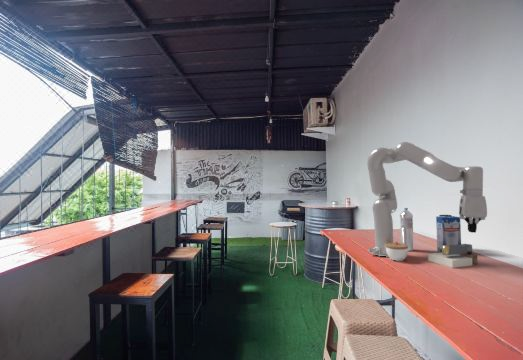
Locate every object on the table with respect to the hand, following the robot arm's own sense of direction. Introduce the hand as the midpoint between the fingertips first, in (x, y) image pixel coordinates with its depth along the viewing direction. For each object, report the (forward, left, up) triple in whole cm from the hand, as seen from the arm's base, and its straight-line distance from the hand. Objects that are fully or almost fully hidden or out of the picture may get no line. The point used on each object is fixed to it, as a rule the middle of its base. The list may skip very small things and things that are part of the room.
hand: (472, 231), depth 136 cm
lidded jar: (-23, +23, -17) cm, 36 cm away
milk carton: (+16, +27, -17) cm, 36 cm away
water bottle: (-2, +39, -17) cm, 43 cm away
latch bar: (-1, +7, -12) cm, 13 cm away
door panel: (-4, +9, -17) cm, 19 cm away
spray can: (+22, +34, -17) cm, 44 cm away
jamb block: (+5, +6, -17) cm, 18 cm away
